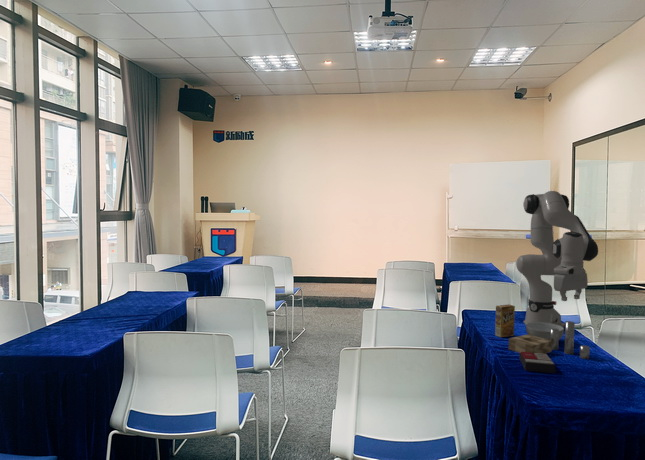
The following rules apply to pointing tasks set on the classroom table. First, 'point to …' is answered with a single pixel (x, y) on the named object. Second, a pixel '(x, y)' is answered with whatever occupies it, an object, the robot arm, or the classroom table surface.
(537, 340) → the block
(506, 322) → the candy box
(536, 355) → the calculator
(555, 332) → the medium pin
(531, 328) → the cereal bowl
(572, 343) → the long pin
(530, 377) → the classroom table surface
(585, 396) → the classroom table surface
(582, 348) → the short pin
